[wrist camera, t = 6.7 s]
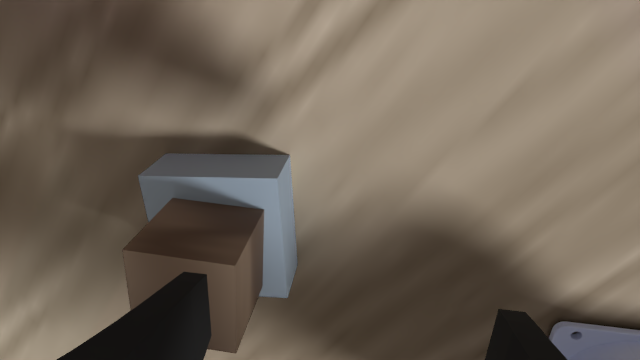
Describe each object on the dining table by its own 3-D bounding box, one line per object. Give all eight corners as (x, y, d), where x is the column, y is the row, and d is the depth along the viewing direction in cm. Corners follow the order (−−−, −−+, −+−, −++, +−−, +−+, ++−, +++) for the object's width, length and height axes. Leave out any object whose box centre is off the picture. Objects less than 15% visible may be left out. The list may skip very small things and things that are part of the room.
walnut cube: (264, 209, 19) (235, 266, 15) (262, 286, 20) (235, 353, 17) (172, 197, 19) (122, 249, 15) (178, 273, 21) (134, 337, 17)
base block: (291, 151, 21) (277, 178, 18) (298, 260, 23) (287, 297, 20) (169, 150, 21) (138, 175, 19) (189, 255, 24) (164, 291, 21)
